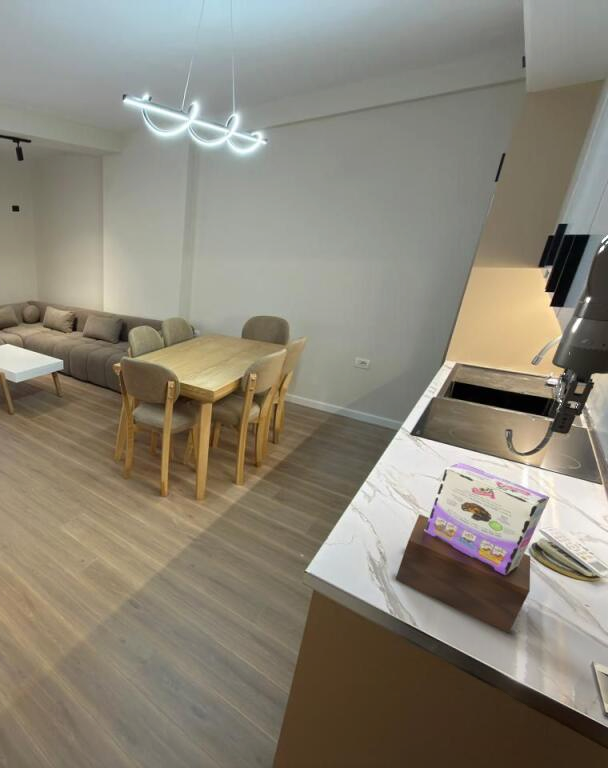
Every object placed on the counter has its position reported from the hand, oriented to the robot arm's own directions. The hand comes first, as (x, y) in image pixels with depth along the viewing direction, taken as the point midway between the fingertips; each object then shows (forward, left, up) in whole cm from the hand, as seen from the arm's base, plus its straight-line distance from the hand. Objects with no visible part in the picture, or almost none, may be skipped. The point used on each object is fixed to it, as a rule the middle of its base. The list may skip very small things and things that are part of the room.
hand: (557, 424), depth 76 cm
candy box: (+6, +11, -27) cm, 30 cm away
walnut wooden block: (+6, +11, -38) cm, 40 cm away
